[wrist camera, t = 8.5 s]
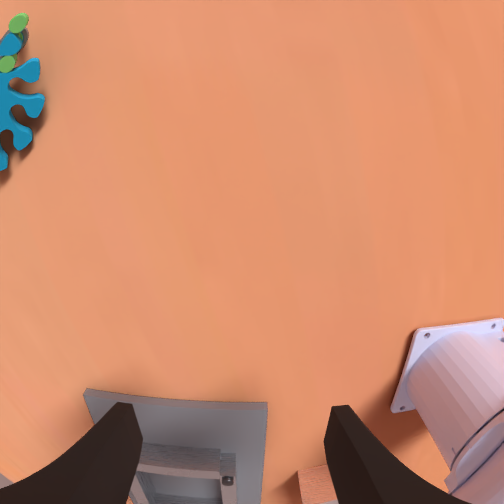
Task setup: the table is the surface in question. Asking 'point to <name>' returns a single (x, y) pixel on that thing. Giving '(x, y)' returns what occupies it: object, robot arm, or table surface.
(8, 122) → the blue spiky round piece
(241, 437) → the tray
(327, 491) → the small brown box
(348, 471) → the robot arm
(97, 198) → the table surface
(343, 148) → the table surface
